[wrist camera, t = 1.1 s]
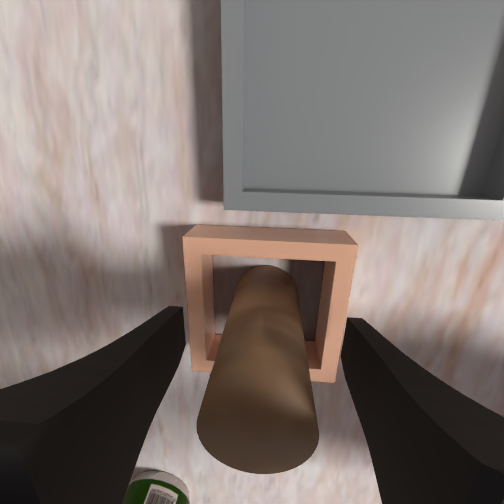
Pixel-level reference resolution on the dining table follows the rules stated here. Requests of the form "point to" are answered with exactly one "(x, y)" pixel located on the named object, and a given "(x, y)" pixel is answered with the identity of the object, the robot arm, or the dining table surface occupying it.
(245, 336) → the dowel
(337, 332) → the collar
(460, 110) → the tray
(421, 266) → the dining table surface
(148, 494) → the beer can
